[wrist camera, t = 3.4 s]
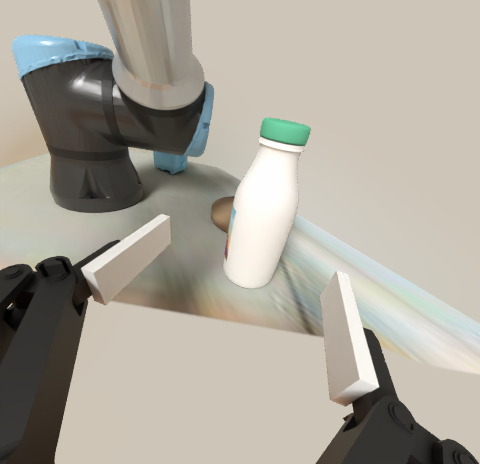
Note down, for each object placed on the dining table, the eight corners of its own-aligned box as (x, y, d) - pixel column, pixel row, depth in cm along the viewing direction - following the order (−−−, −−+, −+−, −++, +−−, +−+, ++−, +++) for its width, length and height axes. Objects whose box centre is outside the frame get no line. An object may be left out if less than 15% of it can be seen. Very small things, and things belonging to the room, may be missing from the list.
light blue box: (145, 166, 56) (142, 139, 52) (158, 162, 61) (157, 137, 57) (180, 177, 54) (179, 150, 50) (191, 172, 59) (191, 147, 55)
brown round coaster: (198, 222, 37) (199, 213, 36) (227, 198, 48) (228, 191, 47) (265, 247, 34) (267, 239, 33) (279, 216, 45) (282, 209, 44)
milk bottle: (282, 274, 29) (343, 132, 18) (247, 300, 24) (300, 127, 13) (247, 247, 33) (279, 117, 22) (212, 264, 28) (229, 109, 17)
